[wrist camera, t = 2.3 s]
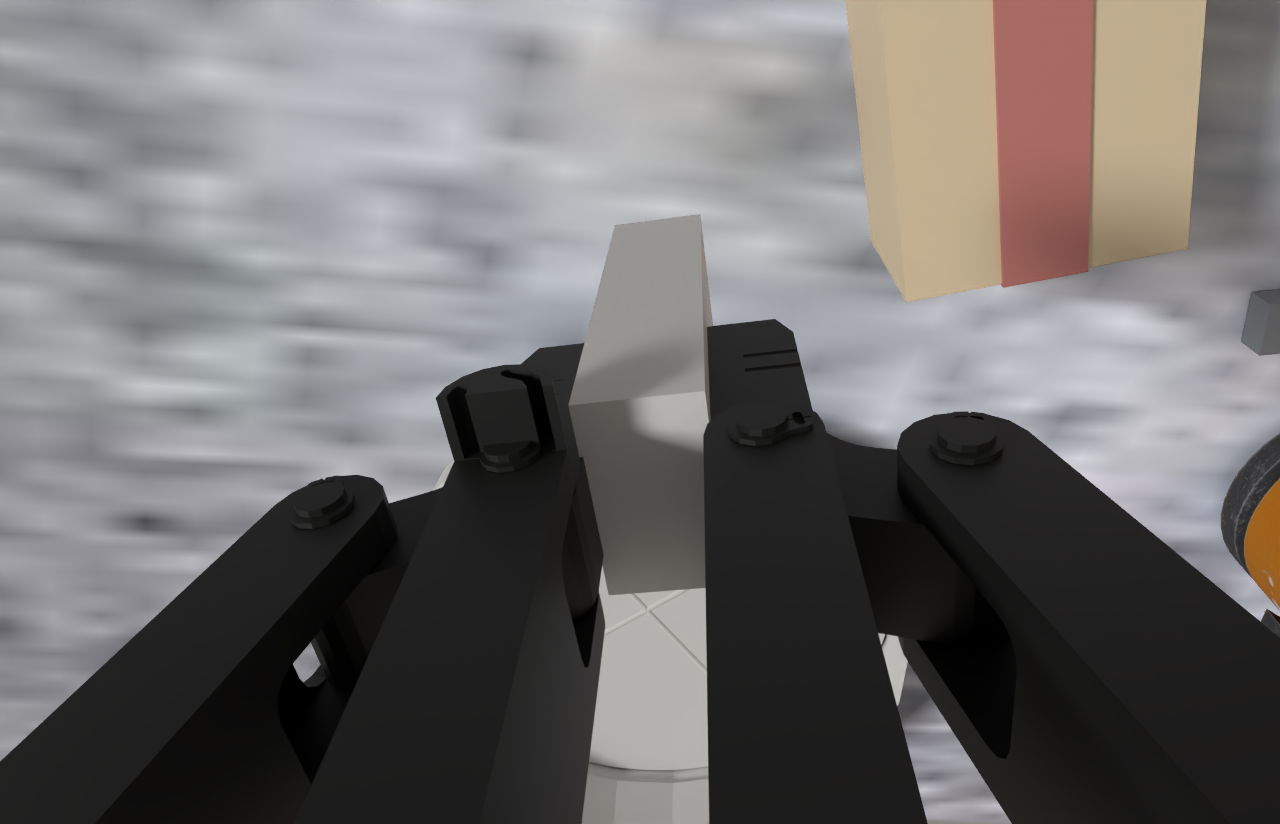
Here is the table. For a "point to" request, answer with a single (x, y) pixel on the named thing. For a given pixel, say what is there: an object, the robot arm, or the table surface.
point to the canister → (1257, 523)
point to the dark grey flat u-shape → (1263, 323)
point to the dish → (658, 708)
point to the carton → (1024, 135)
